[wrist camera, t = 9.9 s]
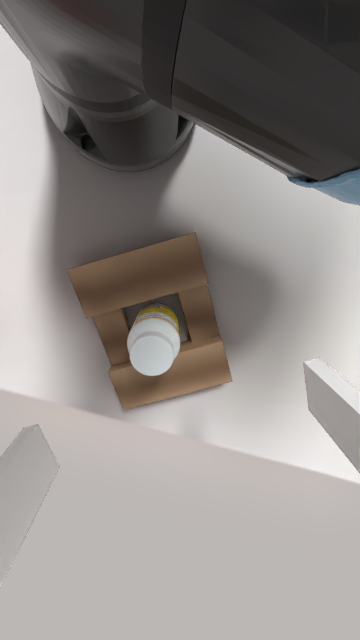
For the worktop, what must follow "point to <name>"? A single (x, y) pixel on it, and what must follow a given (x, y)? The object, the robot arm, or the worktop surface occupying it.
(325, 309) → the worktop surface
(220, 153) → the worktop surface
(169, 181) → the worktop surface
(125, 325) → the frame
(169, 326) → the supplement bottle
